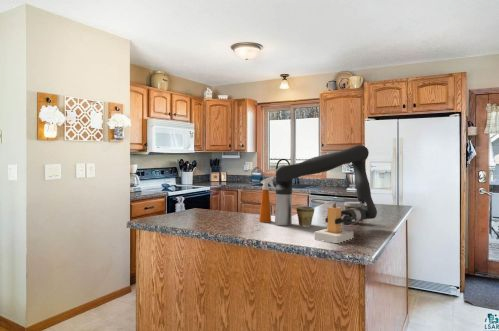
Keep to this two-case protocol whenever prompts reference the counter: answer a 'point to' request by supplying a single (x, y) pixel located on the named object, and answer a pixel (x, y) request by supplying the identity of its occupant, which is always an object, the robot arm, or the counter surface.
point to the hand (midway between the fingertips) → (331, 221)
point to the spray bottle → (266, 200)
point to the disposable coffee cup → (352, 205)
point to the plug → (332, 215)
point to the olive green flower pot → (305, 215)
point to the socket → (334, 236)
